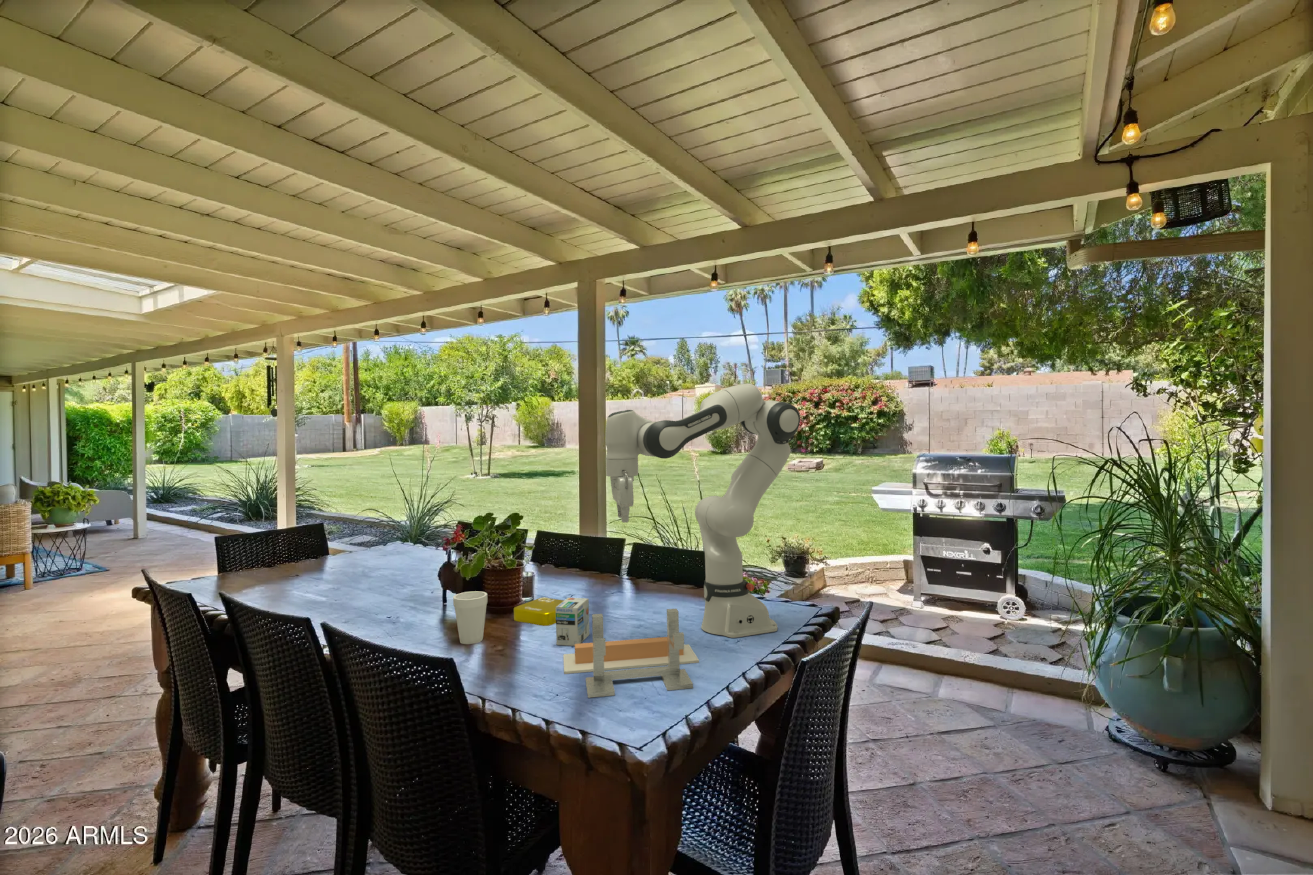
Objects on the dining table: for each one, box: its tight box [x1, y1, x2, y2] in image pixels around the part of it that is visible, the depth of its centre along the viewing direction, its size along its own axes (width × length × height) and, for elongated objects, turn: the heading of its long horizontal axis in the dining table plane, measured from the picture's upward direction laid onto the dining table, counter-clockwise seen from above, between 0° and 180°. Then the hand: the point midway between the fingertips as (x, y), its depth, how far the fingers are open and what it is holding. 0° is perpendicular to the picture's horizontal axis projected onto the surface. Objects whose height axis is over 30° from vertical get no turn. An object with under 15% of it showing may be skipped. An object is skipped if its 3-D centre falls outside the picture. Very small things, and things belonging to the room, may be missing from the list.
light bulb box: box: [555, 597, 590, 647], centre depth 175 cm, size 11×7×11 cm, turn 168°
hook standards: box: [585, 608, 694, 699], centre depth 142 cm, size 24×9×16 cm, turn 100°
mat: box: [562, 644, 700, 675], centre depth 158 cm, size 34×12×1 cm, turn 100°
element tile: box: [513, 596, 565, 627], centre depth 197 cm, size 15×15×5 cm
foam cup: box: [452, 590, 488, 645], centre depth 176 cm, size 10×9×13 cm
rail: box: [574, 636, 684, 664], centre depth 158 cm, size 28×3×4 cm, turn 100°
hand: (623, 519), depth 167 cm, fingers open, 8 cm apart
